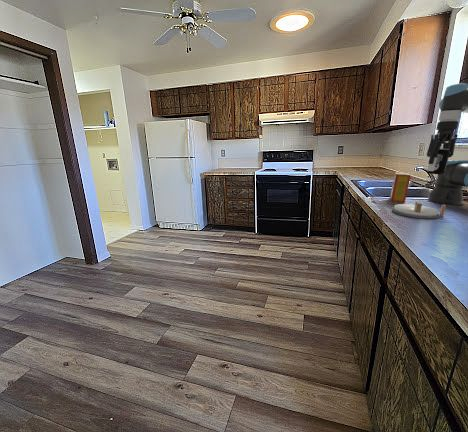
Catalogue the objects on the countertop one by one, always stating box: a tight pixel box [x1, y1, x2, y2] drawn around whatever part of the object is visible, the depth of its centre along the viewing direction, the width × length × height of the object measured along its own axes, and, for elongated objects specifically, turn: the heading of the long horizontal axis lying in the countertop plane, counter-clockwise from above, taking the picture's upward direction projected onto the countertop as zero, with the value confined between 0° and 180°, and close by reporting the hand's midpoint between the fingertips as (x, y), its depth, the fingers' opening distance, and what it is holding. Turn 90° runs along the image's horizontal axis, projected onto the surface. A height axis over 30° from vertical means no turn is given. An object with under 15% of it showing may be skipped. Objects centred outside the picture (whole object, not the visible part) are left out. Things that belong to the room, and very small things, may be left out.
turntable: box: [393, 200, 440, 217], centre depth 115 cm, size 17×17×5 cm
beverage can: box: [426, 148, 449, 175], centre depth 119 cm, size 7×7×12 cm
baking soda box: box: [389, 171, 412, 204], centre depth 138 cm, size 10×6×16 cm
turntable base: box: [392, 204, 447, 220], centre depth 114 cm, size 18×20×6 cm
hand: (435, 170), depth 121 cm, fingers closed on beverage can, 6 cm apart
